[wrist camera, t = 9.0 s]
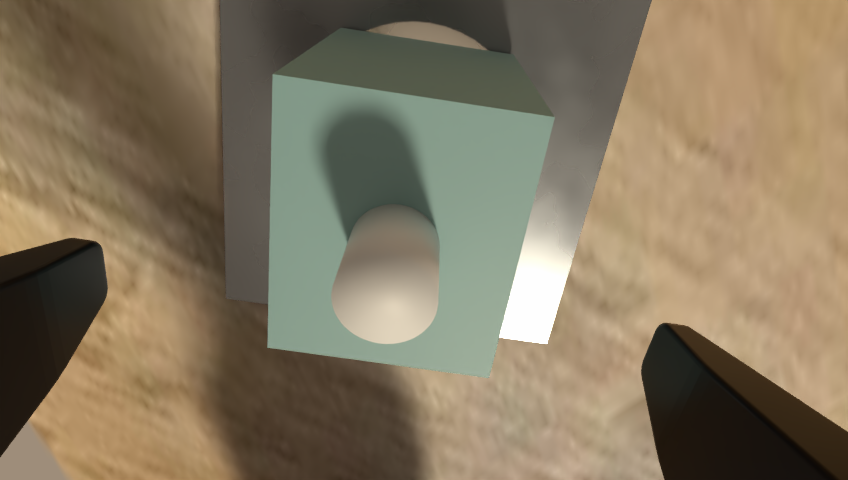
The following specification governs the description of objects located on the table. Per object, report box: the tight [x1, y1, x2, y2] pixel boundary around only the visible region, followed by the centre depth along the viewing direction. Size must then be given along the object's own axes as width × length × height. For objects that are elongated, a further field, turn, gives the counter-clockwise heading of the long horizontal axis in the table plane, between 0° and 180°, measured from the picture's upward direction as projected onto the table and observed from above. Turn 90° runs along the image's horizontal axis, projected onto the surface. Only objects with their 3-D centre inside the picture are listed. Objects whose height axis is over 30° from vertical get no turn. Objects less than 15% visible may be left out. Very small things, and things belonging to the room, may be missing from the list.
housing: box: [267, 28, 555, 378], centre depth 13 cm, size 6×5×9 cm
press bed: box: [220, 0, 652, 344], centre depth 18 cm, size 14×12×2 cm
